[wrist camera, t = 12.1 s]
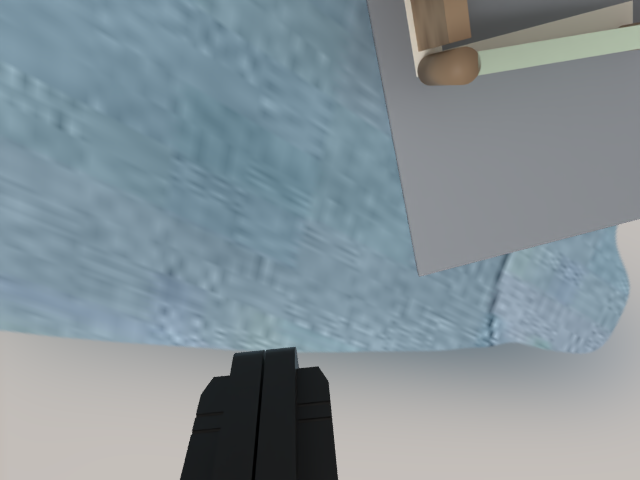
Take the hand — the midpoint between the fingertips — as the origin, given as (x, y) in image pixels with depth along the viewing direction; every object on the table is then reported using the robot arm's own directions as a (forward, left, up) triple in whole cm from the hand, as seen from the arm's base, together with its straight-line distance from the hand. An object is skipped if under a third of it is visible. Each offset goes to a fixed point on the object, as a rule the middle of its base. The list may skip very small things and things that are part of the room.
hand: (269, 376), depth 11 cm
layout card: (+22, +3, -29) cm, 36 cm away
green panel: (+22, +4, -28) cm, 36 cm away
